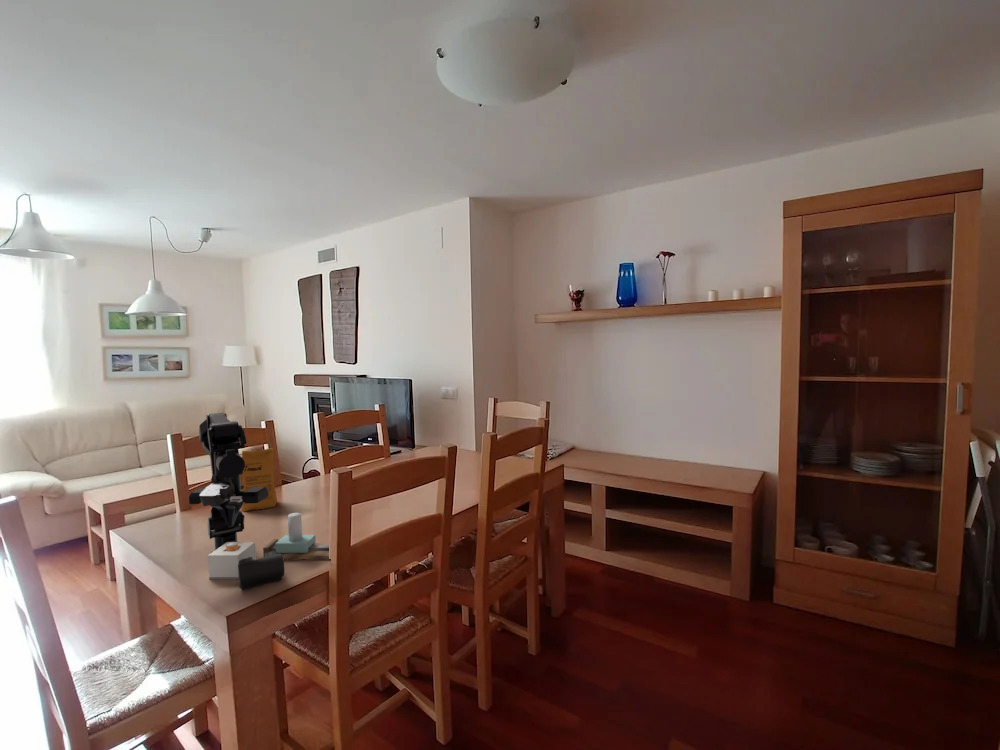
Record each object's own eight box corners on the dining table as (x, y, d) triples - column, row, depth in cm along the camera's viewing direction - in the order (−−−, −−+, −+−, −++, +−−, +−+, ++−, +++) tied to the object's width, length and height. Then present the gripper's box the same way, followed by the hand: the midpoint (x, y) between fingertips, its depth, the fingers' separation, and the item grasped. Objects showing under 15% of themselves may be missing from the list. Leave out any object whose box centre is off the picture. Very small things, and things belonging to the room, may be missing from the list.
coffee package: (243, 504, 178) (240, 448, 177) (278, 500, 182) (275, 445, 181) (238, 513, 169) (234, 454, 167) (275, 508, 173) (272, 450, 172)
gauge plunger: (224, 558, 123) (223, 546, 123) (230, 554, 126) (230, 541, 126) (234, 558, 123) (233, 546, 123) (240, 554, 126) (240, 541, 125)
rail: (261, 559, 131) (261, 549, 131) (276, 547, 139) (275, 537, 139) (335, 559, 131) (335, 549, 130) (346, 547, 139) (345, 537, 138)
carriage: (275, 552, 132) (273, 518, 131) (286, 543, 138) (284, 511, 137) (306, 552, 132) (304, 518, 131) (315, 543, 138) (314, 511, 137)
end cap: (241, 595, 113) (239, 569, 112) (237, 583, 118) (236, 558, 118) (285, 582, 119) (283, 557, 118) (280, 572, 124) (278, 547, 124)
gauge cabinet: (209, 579, 121) (207, 555, 120) (228, 564, 129) (227, 542, 128) (239, 579, 120) (237, 555, 120) (256, 564, 128) (255, 541, 128)
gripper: (170, 478, 115) (174, 539, 116) (243, 477, 114) (247, 538, 115) (201, 466, 126) (204, 522, 127) (267, 465, 125) (271, 521, 126)
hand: (230, 526), depth 124 cm, fingers closed
